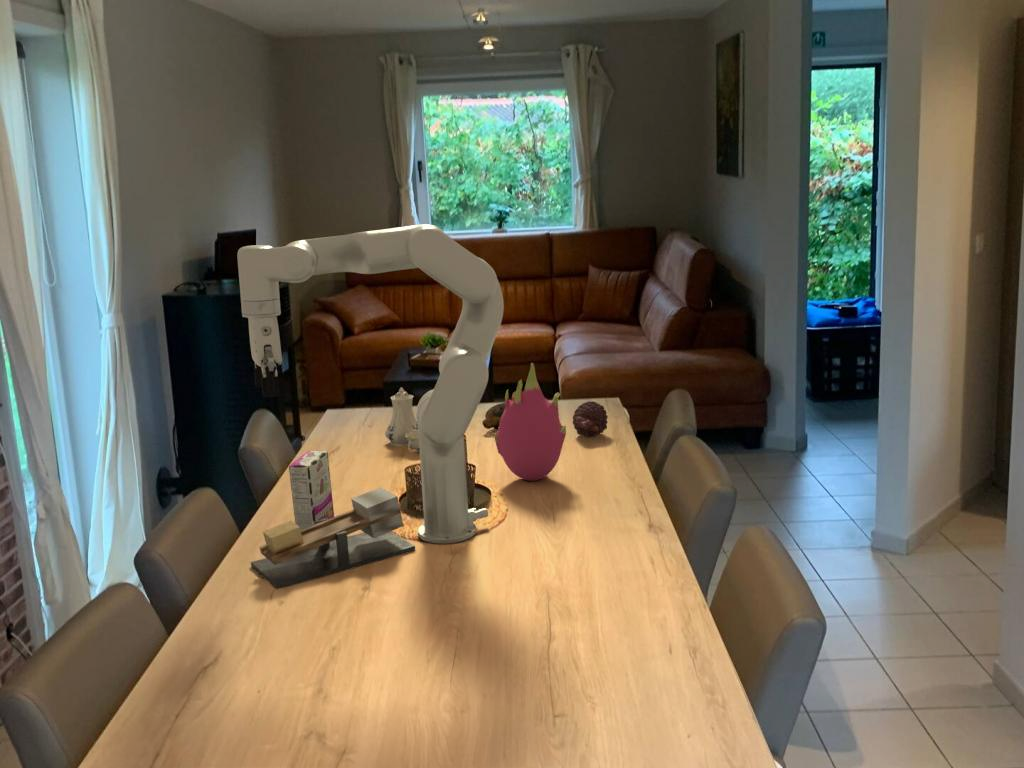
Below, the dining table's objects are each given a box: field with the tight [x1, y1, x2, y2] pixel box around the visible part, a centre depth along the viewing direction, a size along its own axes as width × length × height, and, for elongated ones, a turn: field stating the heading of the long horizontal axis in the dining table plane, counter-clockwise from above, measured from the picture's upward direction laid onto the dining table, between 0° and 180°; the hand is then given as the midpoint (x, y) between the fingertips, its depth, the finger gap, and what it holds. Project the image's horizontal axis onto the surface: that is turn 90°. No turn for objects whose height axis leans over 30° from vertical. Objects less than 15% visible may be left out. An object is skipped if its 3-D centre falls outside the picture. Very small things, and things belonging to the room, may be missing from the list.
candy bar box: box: [288, 449, 335, 530], centre depth 222 cm, size 11×5×16 cm, turn 168°
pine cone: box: [572, 400, 609, 439], centre depth 286 cm, size 18×10×10 cm, turn 178°
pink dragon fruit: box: [494, 362, 567, 482], centre depth 248 cm, size 18×14×30 cm
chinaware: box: [384, 387, 420, 454], centre depth 286 cm, size 28×17×17 cm, turn 179°
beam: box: [259, 486, 404, 565], centre depth 205 cm, size 28×8×7 cm, turn 124°
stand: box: [250, 518, 416, 590], centre depth 206 cm, size 30×14×7 cm, turn 124°
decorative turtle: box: [482, 402, 505, 430], centre depth 297 cm, size 10×15×8 cm, turn 137°
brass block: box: [262, 520, 304, 556], centre depth 200 cm, size 6×4×4 cm
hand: (267, 391), depth 205 cm, fingers open, 9 cm apart
